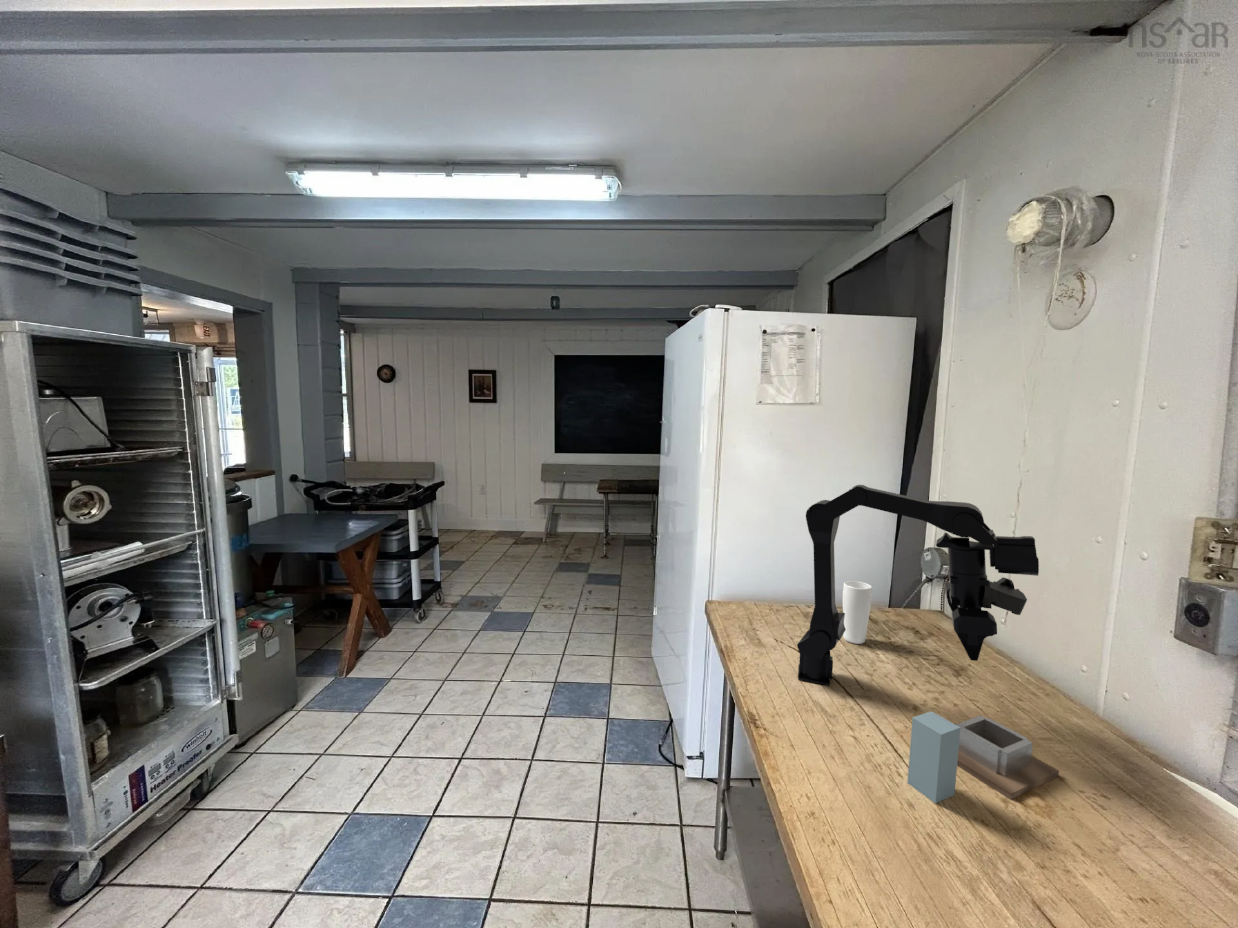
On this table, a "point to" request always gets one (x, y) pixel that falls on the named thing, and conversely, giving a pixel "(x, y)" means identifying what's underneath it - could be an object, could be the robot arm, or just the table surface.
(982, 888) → the table surface
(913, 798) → the table surface
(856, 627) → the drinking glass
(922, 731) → the light blue pillar
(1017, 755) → the docking socket
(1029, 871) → the table surface
